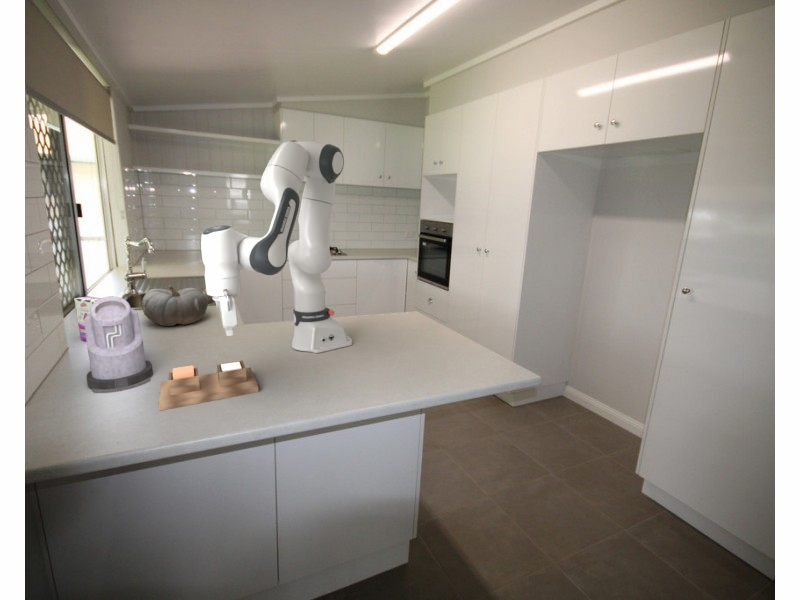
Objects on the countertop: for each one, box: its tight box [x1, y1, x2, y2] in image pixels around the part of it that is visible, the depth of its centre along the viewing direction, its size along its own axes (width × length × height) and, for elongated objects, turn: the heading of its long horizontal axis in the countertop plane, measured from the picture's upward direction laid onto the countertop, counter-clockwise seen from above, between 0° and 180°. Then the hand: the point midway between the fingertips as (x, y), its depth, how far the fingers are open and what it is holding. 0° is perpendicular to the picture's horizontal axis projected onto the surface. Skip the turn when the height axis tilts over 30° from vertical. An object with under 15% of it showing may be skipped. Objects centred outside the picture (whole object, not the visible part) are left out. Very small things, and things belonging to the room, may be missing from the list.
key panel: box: [158, 360, 259, 411], centre depth 112 cm, size 24×14×6 cm, turn 118°
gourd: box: [141, 284, 209, 327], centre depth 174 cm, size 25×25×17 cm
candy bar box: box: [73, 295, 102, 342], centre depth 149 cm, size 11×5×16 cm, turn 68°
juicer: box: [84, 295, 154, 394], centre depth 121 cm, size 30×16×24 cm, turn 35°
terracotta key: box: [172, 364, 195, 380], centre depth 109 cm, size 5×5×3 cm
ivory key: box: [220, 361, 242, 372], centre depth 115 cm, size 5×5×3 cm
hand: (229, 334), depth 112 cm, fingers closed
